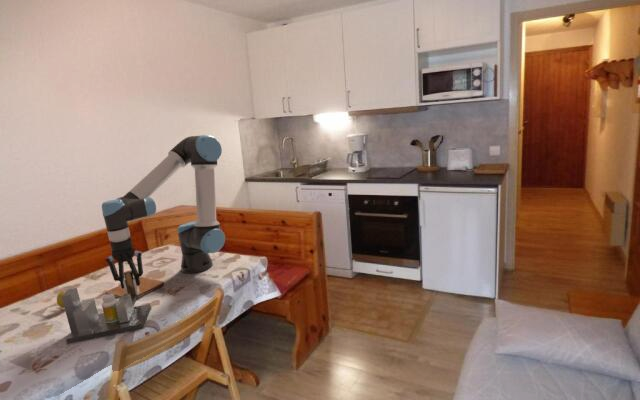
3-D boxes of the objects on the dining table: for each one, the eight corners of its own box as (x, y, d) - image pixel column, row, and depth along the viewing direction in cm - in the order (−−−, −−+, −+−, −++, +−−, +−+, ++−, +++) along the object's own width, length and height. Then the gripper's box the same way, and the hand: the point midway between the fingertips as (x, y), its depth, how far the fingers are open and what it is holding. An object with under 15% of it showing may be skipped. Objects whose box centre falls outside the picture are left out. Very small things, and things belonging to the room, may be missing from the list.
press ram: (139, 298, 162) (132, 270, 159) (128, 321, 144) (120, 289, 141) (131, 300, 161) (124, 271, 158) (119, 323, 143) (112, 290, 140)
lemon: (77, 305, 167) (73, 288, 166) (65, 312, 162) (61, 294, 161) (68, 304, 169) (63, 287, 168) (56, 311, 164) (51, 293, 162)
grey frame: (151, 308, 157) (142, 271, 154) (143, 328, 142) (133, 287, 138) (82, 322, 152) (72, 283, 148) (67, 344, 137) (55, 302, 133)
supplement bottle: (115, 323, 144) (109, 299, 141) (102, 323, 145) (96, 299, 143) (125, 315, 149) (119, 292, 147) (112, 315, 150) (107, 292, 148)
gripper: (143, 232, 159) (155, 286, 164) (100, 240, 156) (114, 294, 161) (140, 238, 152) (152, 293, 157) (95, 245, 149) (109, 302, 154)
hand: (133, 293), depth 159 cm, fingers closed on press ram, 3 cm apart
